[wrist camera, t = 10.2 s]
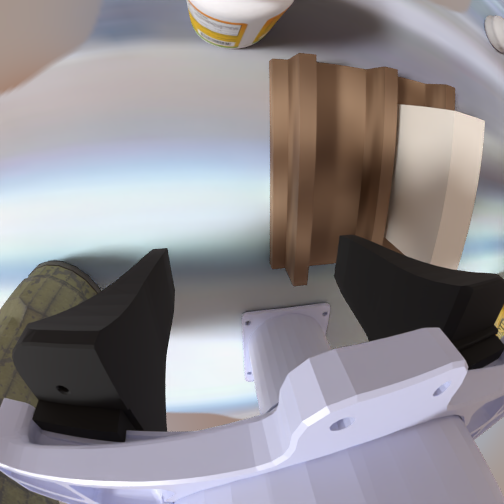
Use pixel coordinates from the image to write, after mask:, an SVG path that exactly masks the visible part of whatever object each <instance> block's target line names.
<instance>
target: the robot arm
mask: <svg viewBox="0 0 504 504" xmlns="http://www.w3.org/2000/svg"><path fill="white" fill-rule="evenodd" d="M334 277H335V279H336V282H337V284H338V287H339V289H340V291H341V293H342V295H343V297H344V298H345V300H346V302H347V303H348V305H349V307H350V308H351V310H352V311H353V313H354V315H355V316H356V318H357V320H358V321H359V323H360V324H361V326H362V328H363V329H364V331H365V333H366V335H367V337H368V339H369V341H370V342H365V343H360V344H356V345H351V346H346V347H341V348H336V349H331V347H330V345H329V343H328V341H327V339H326V337H325V336H326V331H327V326H328V320H329V315H330V309H331V307H330V305H329V304H328V303H320V304H313V305H305V306H297V307H289V308H280V309H271V310H262V311H252V312H245V313H243V315H242V333H243V351H244V370H245V380H246V381H248V382H251V381H254V383H255V389H256V394H257V399H258V404H259V409H260V415H258V416H254V417H251V418H247V419H244V420H240V421H237V422H233V423H229V424H225V425H221V426H217V427H213V428H208V429H204V430H199V431H189V432H188V431H187V432H167V424H166V402H165V372H166V355H167V348H168V342H169V336H170V330H171V325H172V319H173V313H174V298H175V289H174V284H173V278H172V273H171V267H170V261H169V255H168V249H167V248H164V249H153V250H151V251H150V252H149V253H148V254H146V255H145V256H144V257H143V258H142V259H141V260H140V261H139V262H138V263H136V264H135V265H134V266H133V267H132V268H131V269H130V270H129V271H127V272H126V273H125V274H124V275H122V276H121V277H120V278H119V279H118V280H116V281H115V282H114V283H112V284H111V285H110V286H108V287H107V288H105V289H104V290H102V291H101V292H99V293H98V294H96V295H95V296H93V297H91V298H89V299H87V300H86V301H84V302H82V303H80V304H78V305H76V306H74V307H72V308H70V309H68V310H65V311H63V312H61V313H58V314H56V315H53V316H50V317H47V318H44V319H41V320H38V321H34V322H31V323H28V324H27V325H26V327H25V329H24V331H23V332H22V334H21V336H20V338H19V339H18V341H17V343H16V345H15V347H14V349H13V350H12V359H13V362H14V366H15V368H16V370H17V371H18V373H19V375H20V376H21V378H22V379H23V380H24V382H25V383H26V384H27V386H28V387H29V388H30V390H31V391H32V392H33V394H34V395H35V396H36V398H37V399H38V403H37V406H36V408H35V407H33V406H32V405H30V404H28V403H25V402H20V401H16V400H12V399H8V398H4V399H3V402H2V404H1V407H0V471H1V472H3V473H4V474H6V475H7V476H8V477H10V478H11V479H13V480H14V481H16V482H17V483H19V484H20V485H22V486H23V487H25V488H26V489H28V490H30V491H32V492H35V493H38V494H40V495H43V496H46V497H49V498H52V499H55V500H58V501H61V502H64V503H67V504H504V496H503V494H502V492H501V490H500V488H499V486H498V484H497V482H496V480H495V478H494V476H493V474H492V472H491V470H490V468H489V466H488V465H487V463H486V461H485V459H484V457H483V455H482V454H481V452H480V450H479V448H478V446H477V445H476V443H475V442H474V439H476V438H477V437H478V436H480V435H481V434H482V433H484V432H485V431H486V430H487V429H489V428H490V427H491V426H493V425H494V424H495V423H496V422H497V421H499V420H500V419H501V418H503V417H504V336H503V337H502V338H501V339H499V338H498V337H497V336H496V334H497V333H498V328H497V327H496V326H495V325H494V324H495V322H496V320H497V318H498V316H499V314H500V312H501V309H502V307H503V305H504V279H503V278H501V277H500V276H499V275H497V274H492V273H475V272H467V271H459V270H454V269H449V268H444V267H440V266H436V265H432V264H429V263H425V262H422V261H419V260H416V259H413V258H410V257H408V256H405V255H403V254H400V253H398V252H395V251H393V250H390V249H388V248H386V247H383V246H381V245H379V244H377V243H374V242H372V241H370V240H367V239H365V238H362V237H359V236H356V235H339V244H338V252H337V259H336V267H335V274H334ZM323 312H325V313H323ZM246 321H250V322H248V323H246Z"/></svg>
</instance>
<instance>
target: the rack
mask: <svg viewBox="0 0 504 504" xmlns="http://www.w3.org/2000/svg"><path fill="white" fill-rule="evenodd" d="M269 75H270V265H271V268H272V269H281V268H285V269H286V271H287V274H288V276H289V278H290V280H291V282H292V285H293V286H301V285H307V280H308V270H309V266H313V265H323V264H333V263H336V259H337V252H338V244H339V235H356V236H359V237H362V238H365V239H367V240H370V241H372V242H374V243H377V244H379V245H381V246H383V247H386V248H388V249H390V250H393V251H395V252H398V253H400V254H403V253H402V252H401V251H400V250H398V249H397V248H396V247H395V246H394V245H393V244H392V243H390V242H389V241H388V240H387V239H386V238H385V237H384V232H385V226H386V220H387V214H388V207H389V200H390V192H391V184H392V176H393V166H394V156H395V143H396V127H397V104H402V105H413V106H423V107H431V108H439V109H446V110H453V111H455V88H454V87H451V86H449V85H443V84H424V83H420V82H417V81H413V80H409V79H406V78H402V77H398V70H397V69H393V68H388V67H379V68H372V69H360V68H355V67H349V66H342V65H335V64H328V63H319V62H316V55H314V54H304V53H298V54H297V55H295V56H293V57H292V58H290V59H288V60H284V59H272V60H270V61H269ZM403 255H404V254H403Z"/></svg>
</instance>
